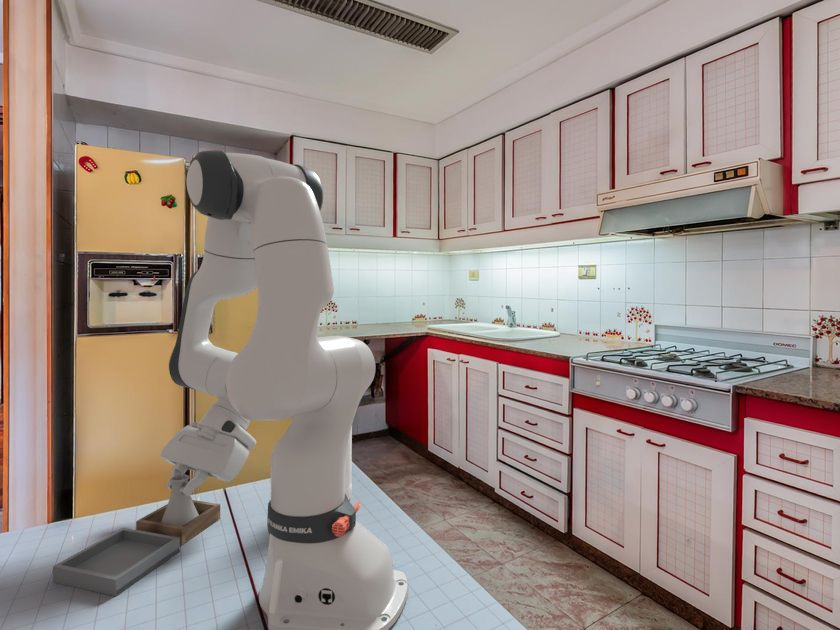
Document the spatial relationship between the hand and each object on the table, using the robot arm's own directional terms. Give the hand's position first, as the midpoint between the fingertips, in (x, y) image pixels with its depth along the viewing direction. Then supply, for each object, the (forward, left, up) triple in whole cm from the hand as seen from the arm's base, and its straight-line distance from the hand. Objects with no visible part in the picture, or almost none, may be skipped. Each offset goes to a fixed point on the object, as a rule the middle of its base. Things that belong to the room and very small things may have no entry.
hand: (176, 491), depth 87 cm
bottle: (-23, -21, -8) cm, 32 cm away
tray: (0, +12, -7) cm, 14 cm away
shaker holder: (0, -1, -7) cm, 7 cm away
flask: (0, -1, -8) cm, 8 cm away
